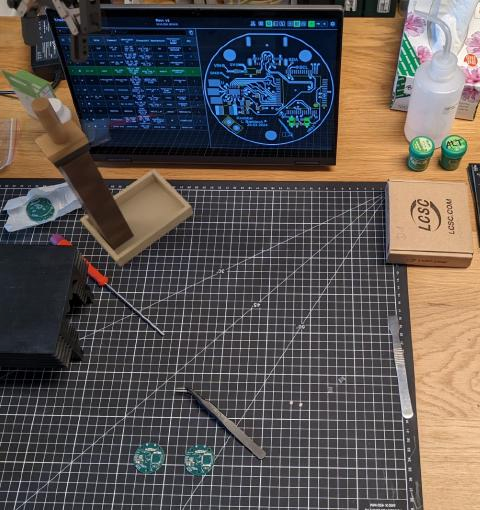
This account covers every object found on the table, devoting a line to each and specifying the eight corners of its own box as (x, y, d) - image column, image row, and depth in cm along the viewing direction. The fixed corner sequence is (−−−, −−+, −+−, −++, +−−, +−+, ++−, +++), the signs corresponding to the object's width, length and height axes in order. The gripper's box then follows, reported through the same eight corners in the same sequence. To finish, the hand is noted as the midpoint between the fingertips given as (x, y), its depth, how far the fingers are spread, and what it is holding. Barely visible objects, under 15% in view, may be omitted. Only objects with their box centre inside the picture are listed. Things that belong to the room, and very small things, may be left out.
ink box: (67, 114, 128) (42, 67, 116) (54, 128, 127) (27, 81, 115) (40, 101, 130) (12, 54, 118) (27, 115, 128) (-2, 68, 116)
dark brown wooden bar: (113, 250, 113) (62, 168, 90) (99, 234, 115) (45, 149, 91) (134, 236, 115) (88, 151, 92) (120, 220, 116) (71, 133, 93)
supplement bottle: (87, 130, 127) (70, 98, 118) (74, 151, 124) (57, 119, 116) (63, 124, 127) (45, 91, 119) (50, 144, 125) (30, 112, 116)
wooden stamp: (56, 170, 90) (26, 124, 81) (42, 153, 91) (12, 105, 82) (92, 149, 92) (67, 101, 82) (78, 132, 93) (52, 83, 84)
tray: (121, 269, 113) (116, 260, 110) (85, 228, 116) (79, 219, 113) (194, 216, 118) (191, 206, 115) (158, 178, 122) (154, 168, 119)
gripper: (-20, -92, 76) (-6, 43, 84) (68, -67, 72) (74, 72, 80) (31, -89, 82) (39, 36, 90) (115, -66, 78) (115, 63, 86)
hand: (55, 53), depth 85 cm, fingers open, 8 cm apart
